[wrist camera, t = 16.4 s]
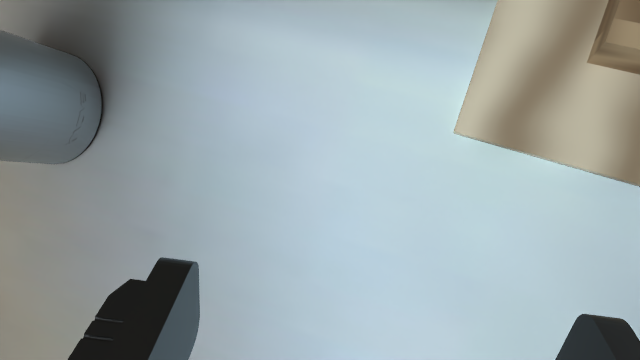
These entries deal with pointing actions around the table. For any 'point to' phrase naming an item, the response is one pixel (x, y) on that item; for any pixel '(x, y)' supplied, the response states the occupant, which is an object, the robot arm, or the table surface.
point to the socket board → (561, 84)
